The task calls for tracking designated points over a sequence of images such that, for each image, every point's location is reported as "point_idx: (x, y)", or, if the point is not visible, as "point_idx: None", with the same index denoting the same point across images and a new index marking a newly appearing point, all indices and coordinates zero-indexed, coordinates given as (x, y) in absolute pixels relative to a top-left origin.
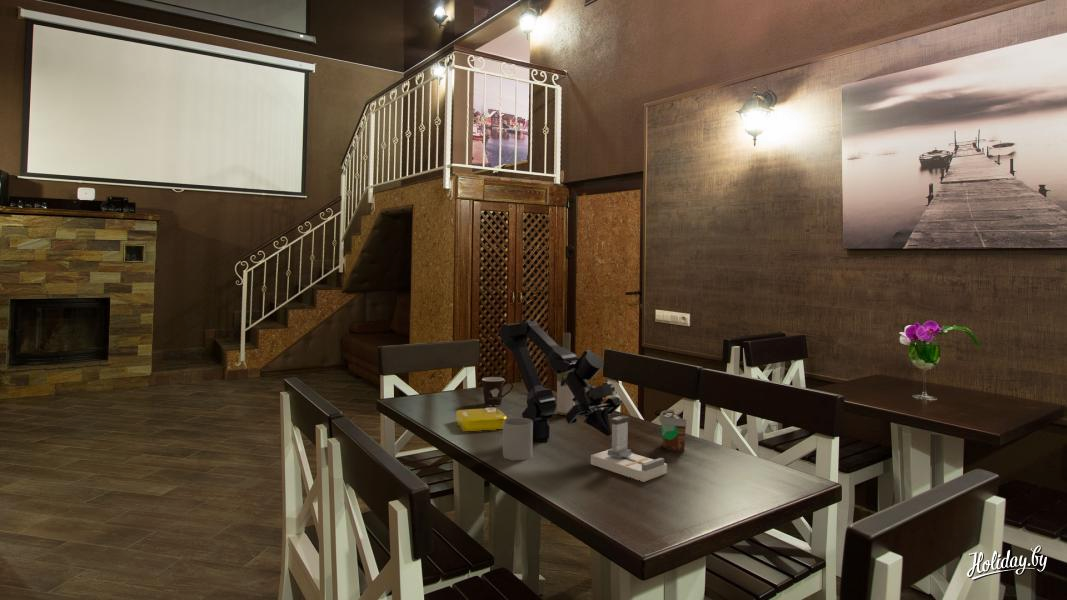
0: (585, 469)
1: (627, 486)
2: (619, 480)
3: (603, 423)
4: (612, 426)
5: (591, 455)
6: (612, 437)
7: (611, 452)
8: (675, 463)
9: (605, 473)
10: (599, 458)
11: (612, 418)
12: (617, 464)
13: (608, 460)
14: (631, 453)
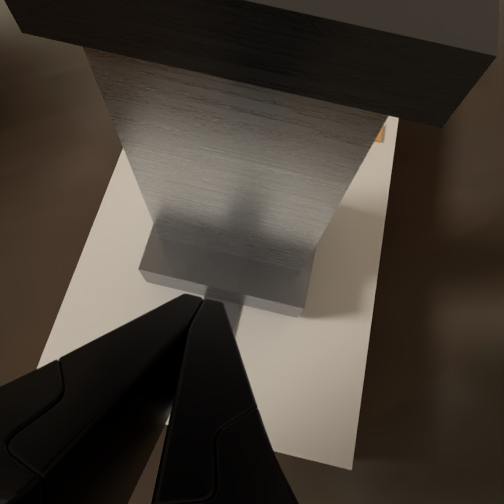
0: (452, 429)
1: (497, 104)
2: (457, 165)
3: (232, 404)
4: (377, 133)
5: (352, 460)
6: (329, 214)
7: (309, 271)
8: (8, 33)
9: (420, 276)
10: (365, 362)
11: (429, 22)
12: (386, 195)
13: (370, 274)
14: (110, 206)
